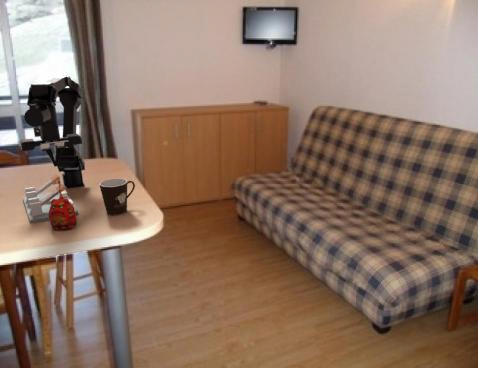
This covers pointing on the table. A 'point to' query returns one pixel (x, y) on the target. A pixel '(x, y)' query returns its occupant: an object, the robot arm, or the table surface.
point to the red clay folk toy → (61, 212)
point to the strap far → (47, 184)
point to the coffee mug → (115, 195)
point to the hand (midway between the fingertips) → (55, 166)
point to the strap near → (52, 195)
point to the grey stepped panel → (35, 208)
